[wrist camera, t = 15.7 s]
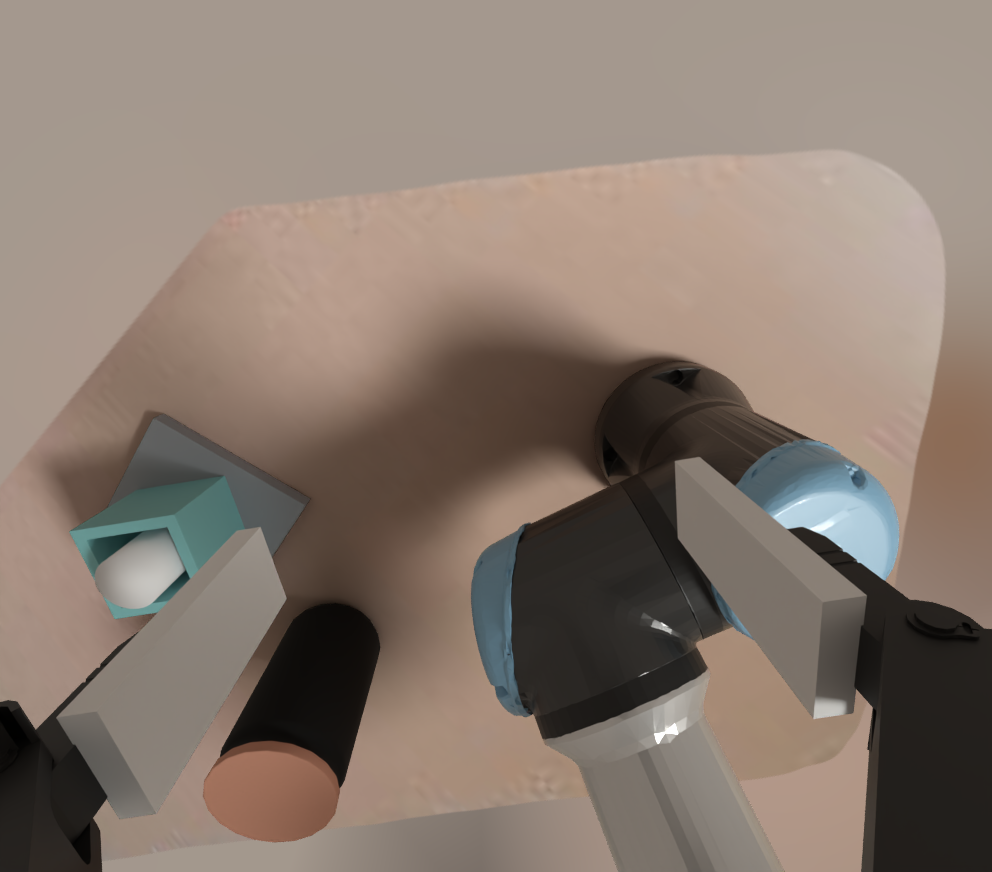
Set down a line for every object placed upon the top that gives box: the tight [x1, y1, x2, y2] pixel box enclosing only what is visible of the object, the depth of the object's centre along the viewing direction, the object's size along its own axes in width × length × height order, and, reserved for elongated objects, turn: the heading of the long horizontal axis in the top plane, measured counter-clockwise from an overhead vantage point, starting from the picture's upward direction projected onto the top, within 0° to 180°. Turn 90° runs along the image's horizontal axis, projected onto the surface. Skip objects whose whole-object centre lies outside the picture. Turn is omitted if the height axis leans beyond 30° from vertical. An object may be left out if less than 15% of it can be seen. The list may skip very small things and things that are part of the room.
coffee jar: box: [203, 603, 380, 842], centre depth 46 cm, size 11×11×18 cm
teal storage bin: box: [69, 476, 245, 619], centre depth 44 cm, size 9×9×8 cm
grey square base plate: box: [95, 414, 310, 609], centre depth 44 cm, size 16×16×12 cm
